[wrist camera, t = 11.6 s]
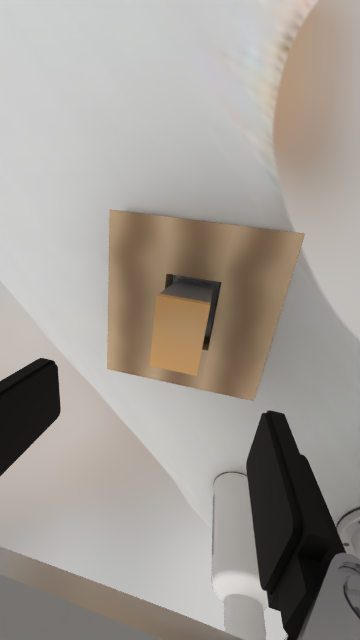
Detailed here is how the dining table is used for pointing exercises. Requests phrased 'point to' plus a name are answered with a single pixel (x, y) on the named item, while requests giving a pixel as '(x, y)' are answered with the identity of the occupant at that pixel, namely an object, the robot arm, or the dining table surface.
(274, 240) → the socket block
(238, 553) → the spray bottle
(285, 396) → the dining table surface
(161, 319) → the key peg
